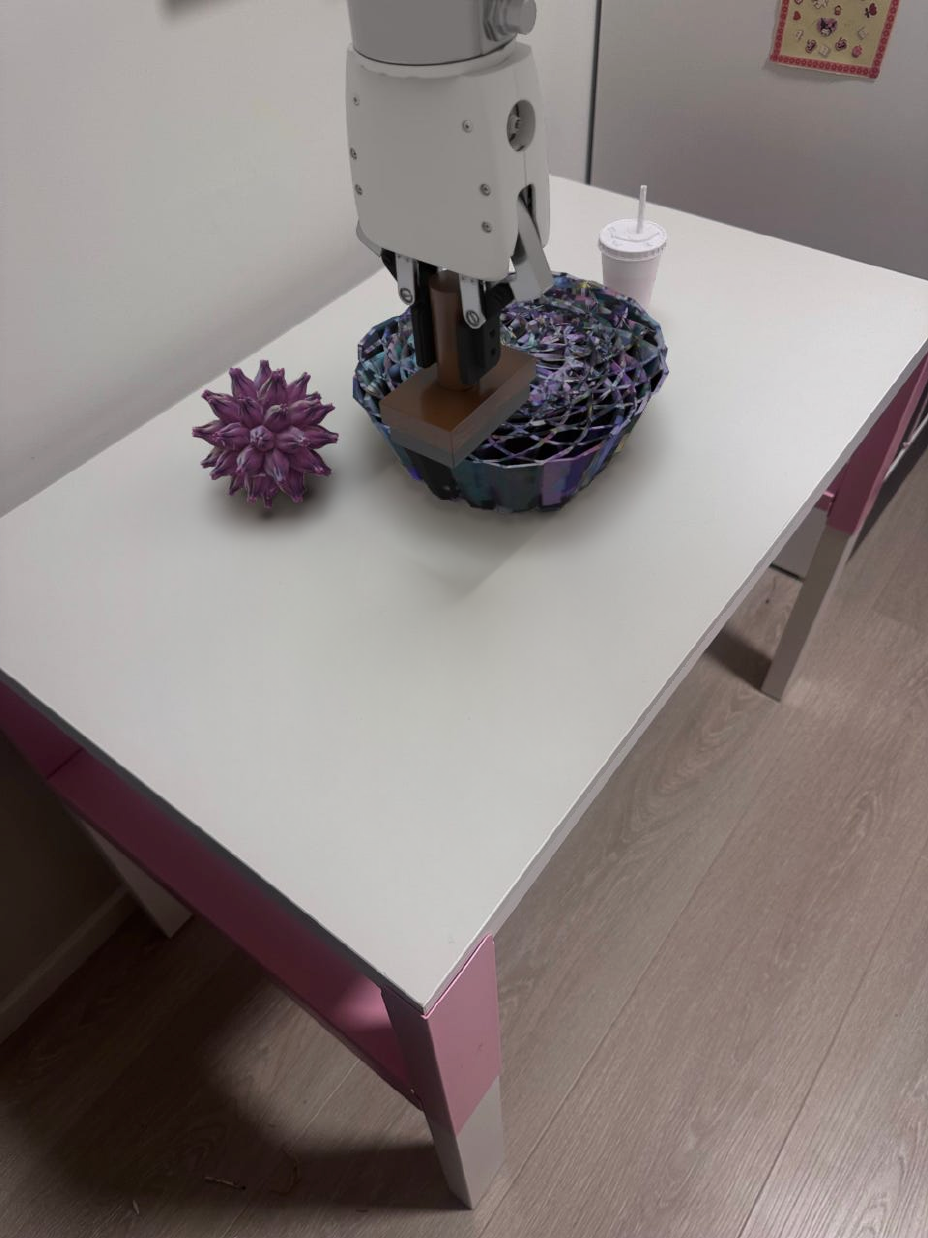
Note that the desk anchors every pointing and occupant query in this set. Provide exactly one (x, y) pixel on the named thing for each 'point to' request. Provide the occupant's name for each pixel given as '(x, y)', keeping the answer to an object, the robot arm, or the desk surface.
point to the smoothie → (632, 254)
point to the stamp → (454, 389)
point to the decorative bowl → (537, 396)
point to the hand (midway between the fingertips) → (458, 362)
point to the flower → (266, 434)
